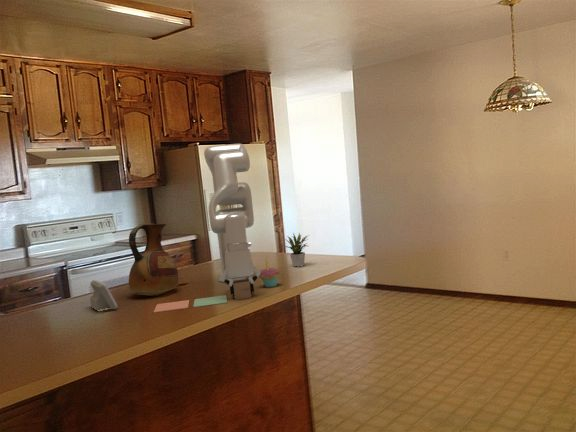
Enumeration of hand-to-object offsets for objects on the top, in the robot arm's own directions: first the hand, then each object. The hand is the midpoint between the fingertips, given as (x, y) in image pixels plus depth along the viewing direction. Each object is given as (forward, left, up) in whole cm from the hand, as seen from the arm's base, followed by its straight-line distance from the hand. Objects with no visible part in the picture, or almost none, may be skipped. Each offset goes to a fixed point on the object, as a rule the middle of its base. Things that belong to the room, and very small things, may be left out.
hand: (242, 294), depth 194 cm
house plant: (-49, +30, -1) cm, 57 cm away
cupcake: (-14, +12, -1) cm, 18 cm away
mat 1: (0, -26, -1) cm, 26 cm away
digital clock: (-13, -52, -1) cm, 54 cm away
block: (0, 0, -1) cm, 1 cm away
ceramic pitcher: (-28, -35, -1) cm, 45 cm away
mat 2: (0, -12, -1) cm, 12 cm away
